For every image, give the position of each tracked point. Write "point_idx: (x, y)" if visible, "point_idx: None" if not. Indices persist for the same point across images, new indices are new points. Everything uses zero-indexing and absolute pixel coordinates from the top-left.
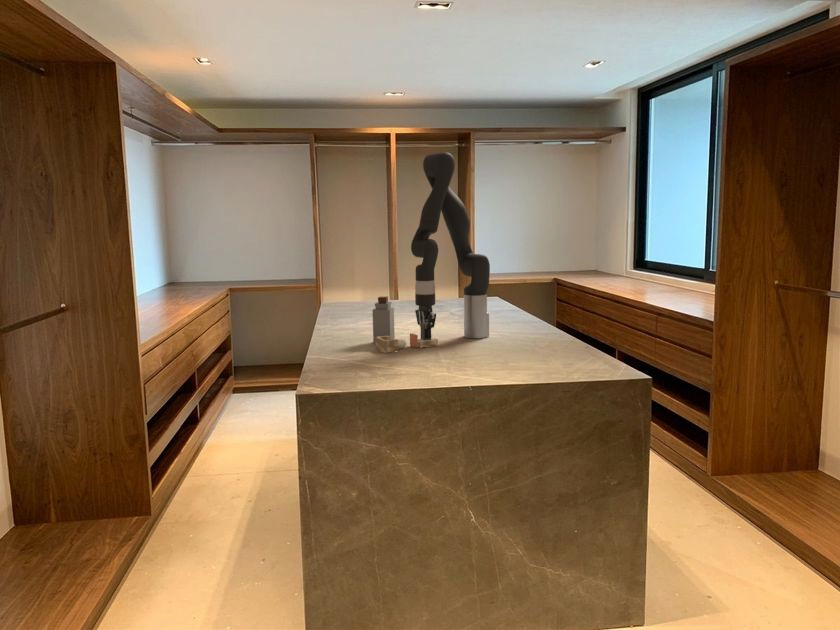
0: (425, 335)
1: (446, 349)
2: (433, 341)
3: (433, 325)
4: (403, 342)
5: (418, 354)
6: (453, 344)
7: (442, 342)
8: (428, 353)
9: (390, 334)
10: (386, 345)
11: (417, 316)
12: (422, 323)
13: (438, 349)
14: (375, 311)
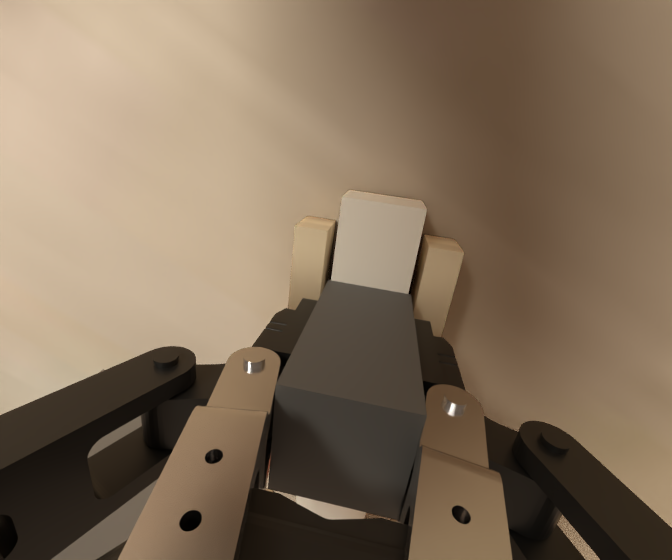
0: None
1: (641, 258)
2: (453, 292)
3: (597, 480)
4: (363, 516)
5: None
6: (511, 32)
7: (336, 77)
8: (620, 448)
9: (144, 505)
10: None
11: (52, 551)
12: (279, 467)
13: (574, 311)
14: None
